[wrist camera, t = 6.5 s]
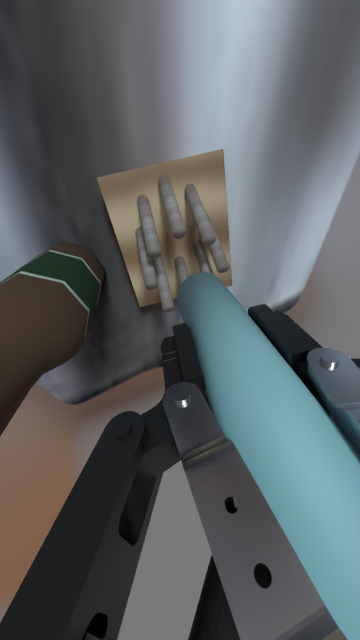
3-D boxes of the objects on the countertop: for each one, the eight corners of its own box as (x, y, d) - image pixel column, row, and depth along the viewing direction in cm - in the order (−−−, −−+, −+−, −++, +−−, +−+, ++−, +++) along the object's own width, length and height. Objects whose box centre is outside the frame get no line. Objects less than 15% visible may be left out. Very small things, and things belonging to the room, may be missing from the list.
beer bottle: (98, 236, 26) (-63, 434, 6) (113, 296, 30) (53, 533, 10) (28, 243, 25) (-436, 495, 5) (54, 303, 29) (-141, 573, 9)
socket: (101, 178, 23) (80, 176, 15) (214, 152, 23) (251, 137, 15) (140, 296, 30) (139, 336, 23) (224, 276, 31) (252, 309, 23)
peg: (172, 278, 14) (356, 871, 2) (222, 267, 14) (699, 771, 2) (181, 321, 15) (309, 769, 4) (226, 310, 15) (492, 717, 4)
